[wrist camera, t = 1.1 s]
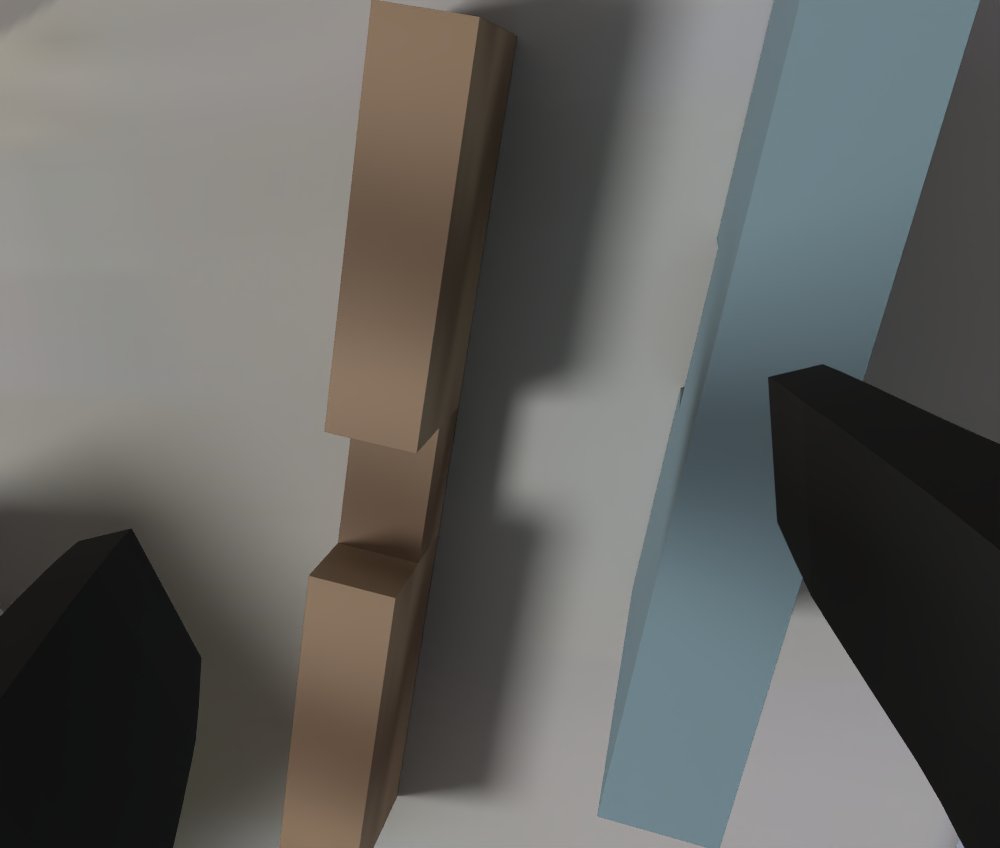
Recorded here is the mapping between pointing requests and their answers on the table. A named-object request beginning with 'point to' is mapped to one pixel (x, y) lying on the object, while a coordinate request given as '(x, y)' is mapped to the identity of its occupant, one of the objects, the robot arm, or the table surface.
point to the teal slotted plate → (744, 384)
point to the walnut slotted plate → (394, 404)
